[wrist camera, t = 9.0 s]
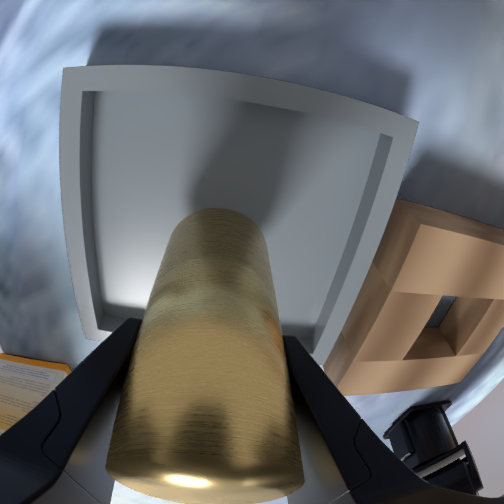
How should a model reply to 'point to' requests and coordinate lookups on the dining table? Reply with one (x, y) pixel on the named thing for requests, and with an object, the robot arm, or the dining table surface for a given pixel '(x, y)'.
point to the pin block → (422, 304)
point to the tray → (224, 185)
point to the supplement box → (25, 385)
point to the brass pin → (209, 375)
